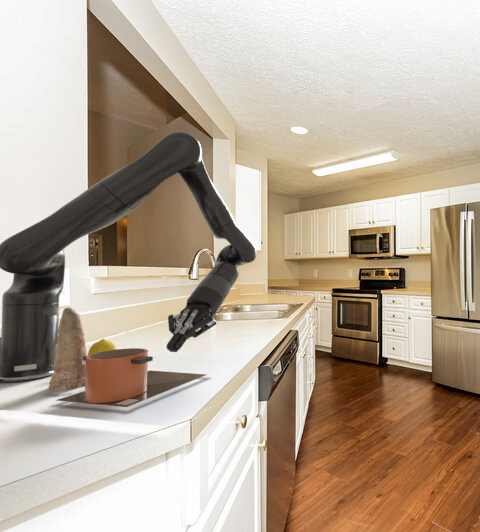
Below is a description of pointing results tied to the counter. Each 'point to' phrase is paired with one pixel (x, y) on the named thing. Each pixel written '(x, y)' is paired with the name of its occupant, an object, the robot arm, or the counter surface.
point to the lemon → (101, 347)
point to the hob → (155, 386)
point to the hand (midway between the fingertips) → (171, 350)
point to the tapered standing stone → (69, 353)
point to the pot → (116, 375)
